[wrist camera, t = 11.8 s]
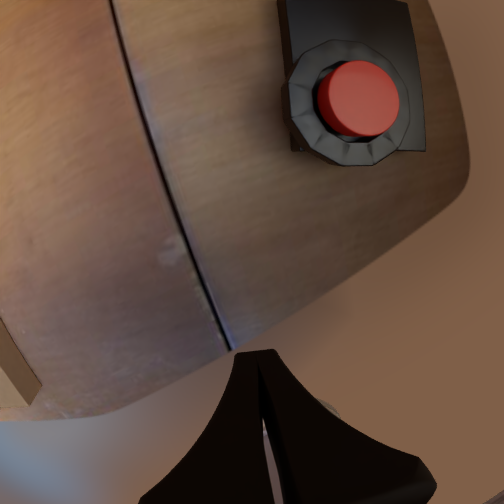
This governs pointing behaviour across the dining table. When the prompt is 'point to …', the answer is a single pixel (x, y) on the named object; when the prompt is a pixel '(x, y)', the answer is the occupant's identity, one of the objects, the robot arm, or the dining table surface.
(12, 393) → the panel
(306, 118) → the box
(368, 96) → the cylinder
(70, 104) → the dining table surface
